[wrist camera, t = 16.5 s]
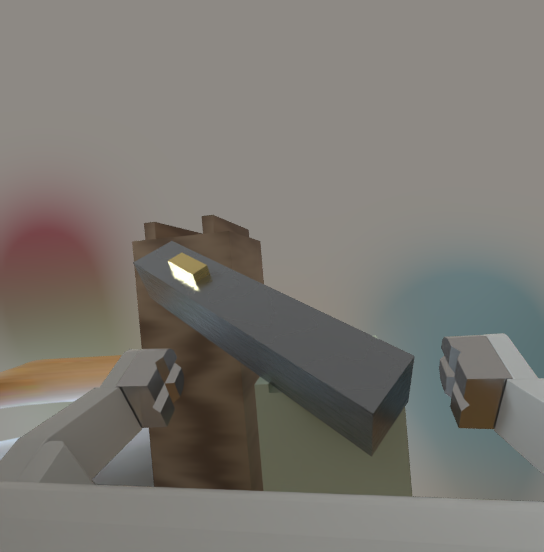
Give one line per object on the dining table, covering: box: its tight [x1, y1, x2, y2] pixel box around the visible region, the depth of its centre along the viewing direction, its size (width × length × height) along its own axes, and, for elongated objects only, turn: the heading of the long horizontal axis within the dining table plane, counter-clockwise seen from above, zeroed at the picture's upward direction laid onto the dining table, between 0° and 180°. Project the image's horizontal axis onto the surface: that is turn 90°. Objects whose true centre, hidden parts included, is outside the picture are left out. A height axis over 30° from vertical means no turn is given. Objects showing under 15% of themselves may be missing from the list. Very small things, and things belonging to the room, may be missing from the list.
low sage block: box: [254, 336, 412, 497], centre depth 25 cm, size 8×12×16 cm, turn 169°
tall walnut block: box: [132, 215, 264, 491], centre depth 36 cm, size 9×12×28 cm
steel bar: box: [134, 241, 414, 457], centre depth 21 cm, size 20×4×4 cm
